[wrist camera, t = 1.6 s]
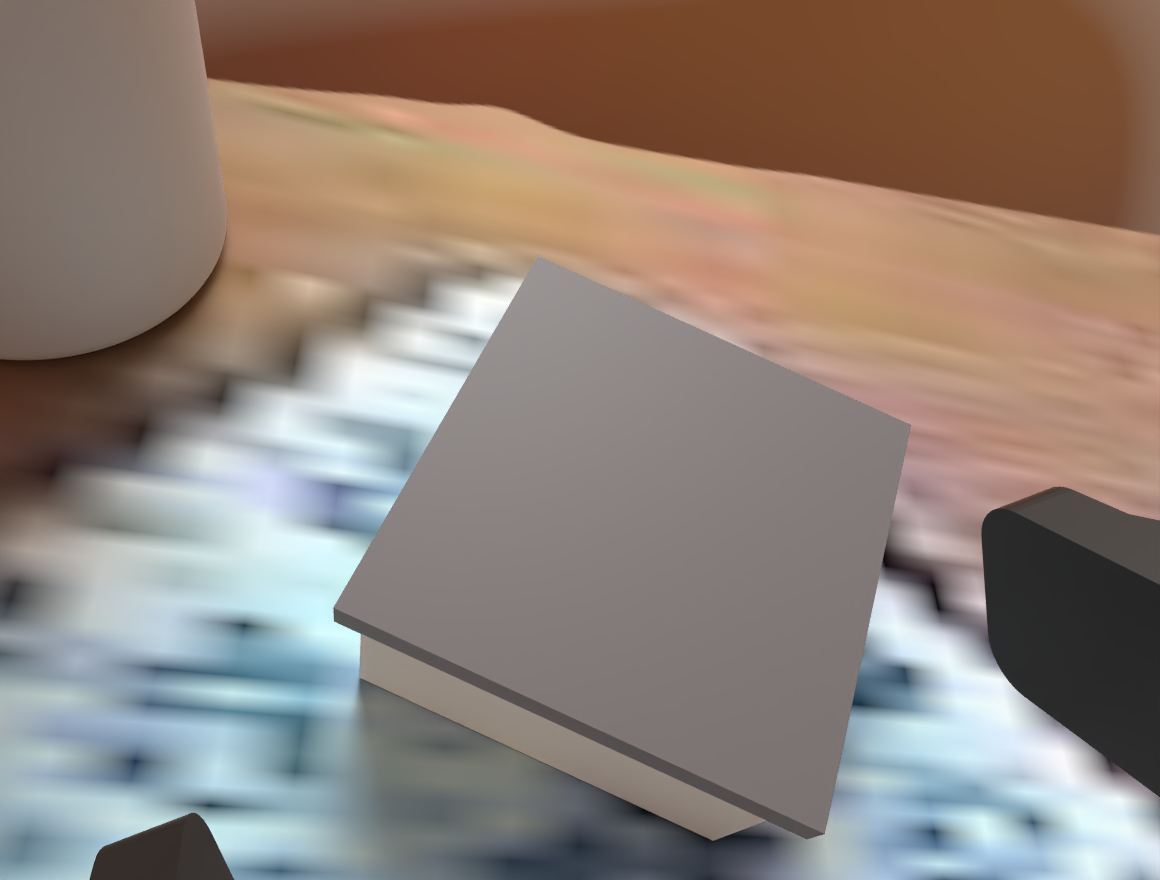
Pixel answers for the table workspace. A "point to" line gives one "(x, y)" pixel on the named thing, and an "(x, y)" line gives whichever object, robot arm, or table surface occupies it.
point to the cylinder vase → (102, 172)
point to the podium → (638, 561)
